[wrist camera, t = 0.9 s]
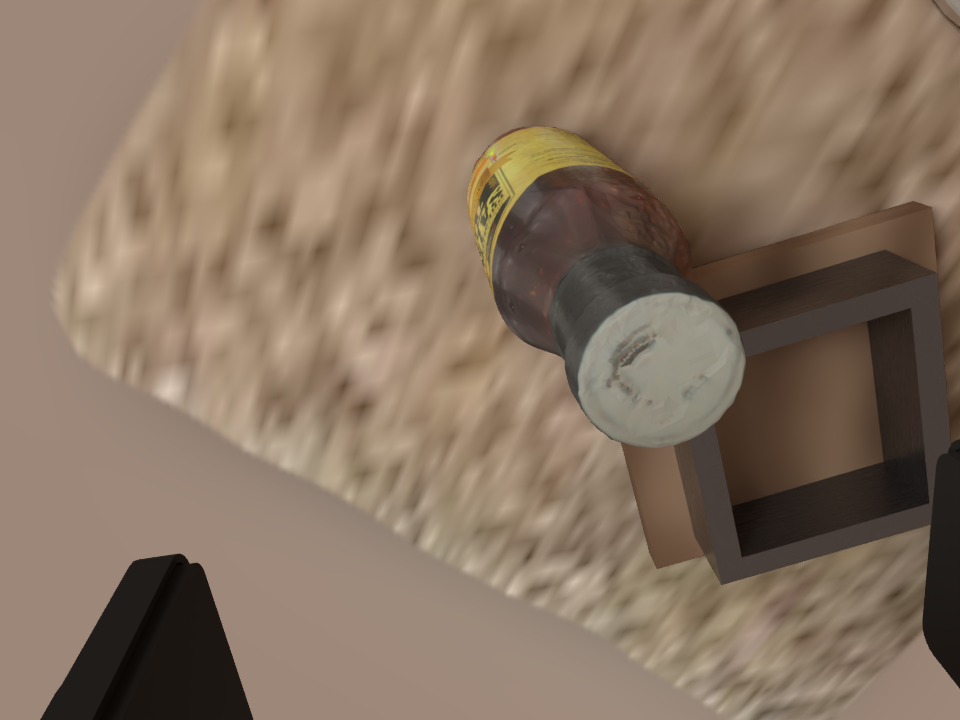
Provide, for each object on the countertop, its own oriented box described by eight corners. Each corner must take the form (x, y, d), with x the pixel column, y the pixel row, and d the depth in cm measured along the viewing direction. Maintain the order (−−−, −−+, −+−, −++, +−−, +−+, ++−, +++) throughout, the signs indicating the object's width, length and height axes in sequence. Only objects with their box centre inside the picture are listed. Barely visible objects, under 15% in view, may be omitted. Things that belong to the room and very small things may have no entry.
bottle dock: (913, 201, 38) (990, 226, 33) (936, 468, 44) (1005, 525, 39) (584, 301, 39) (610, 341, 34) (649, 552, 44) (680, 619, 39)
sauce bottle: (446, 146, 36) (480, 263, 17) (583, 102, 35) (768, 174, 17) (488, 284, 38) (558, 514, 20) (617, 244, 38) (810, 440, 19)
